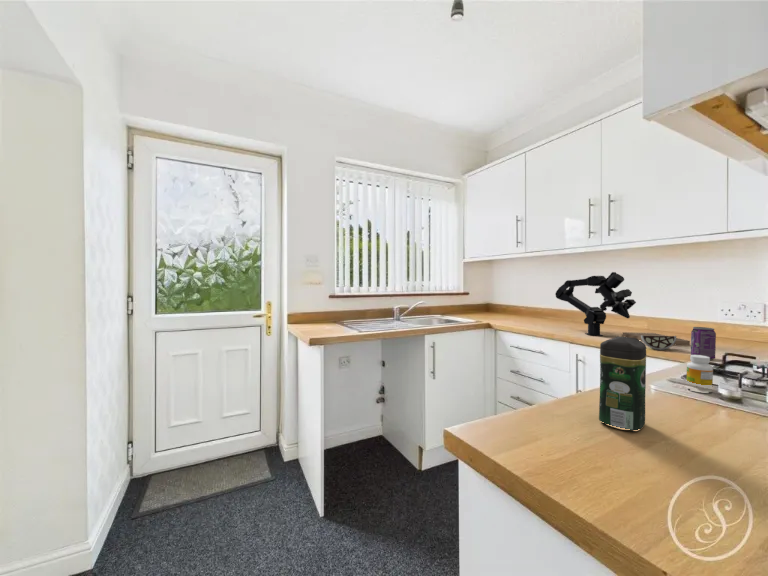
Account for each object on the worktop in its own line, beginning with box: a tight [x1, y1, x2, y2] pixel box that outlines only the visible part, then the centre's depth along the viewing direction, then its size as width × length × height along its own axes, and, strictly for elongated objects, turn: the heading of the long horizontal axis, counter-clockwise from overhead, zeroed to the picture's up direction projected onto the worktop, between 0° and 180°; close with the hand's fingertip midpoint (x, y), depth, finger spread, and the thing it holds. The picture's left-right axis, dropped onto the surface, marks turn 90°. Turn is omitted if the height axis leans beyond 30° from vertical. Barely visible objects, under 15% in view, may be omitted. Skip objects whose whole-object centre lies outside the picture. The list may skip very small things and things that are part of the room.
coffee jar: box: [598, 336, 647, 430], centre depth 73 cm, size 10×8×19 cm
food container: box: [641, 335, 677, 351], centre depth 153 cm, size 12×6×10 cm
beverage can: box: [690, 326, 717, 361], centre depth 135 cm, size 7×7×12 cm
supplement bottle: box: [685, 354, 714, 385], centre depth 95 cm, size 5×5×10 cm
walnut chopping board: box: [621, 331, 691, 346], centre depth 174 cm, size 24×16×2 cm, turn 176°
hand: (628, 317), depth 171 cm, fingers closed
